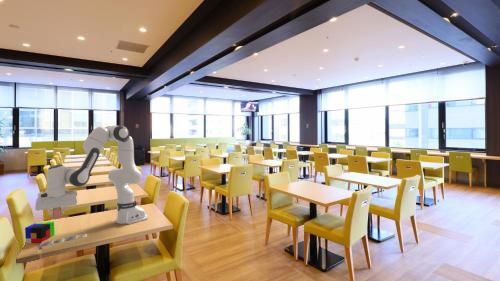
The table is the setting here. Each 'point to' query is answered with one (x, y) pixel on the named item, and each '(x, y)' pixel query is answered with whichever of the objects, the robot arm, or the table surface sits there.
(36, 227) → the puzzle toy
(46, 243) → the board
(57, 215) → the pawn
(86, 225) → the table surface
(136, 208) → the robot arm
